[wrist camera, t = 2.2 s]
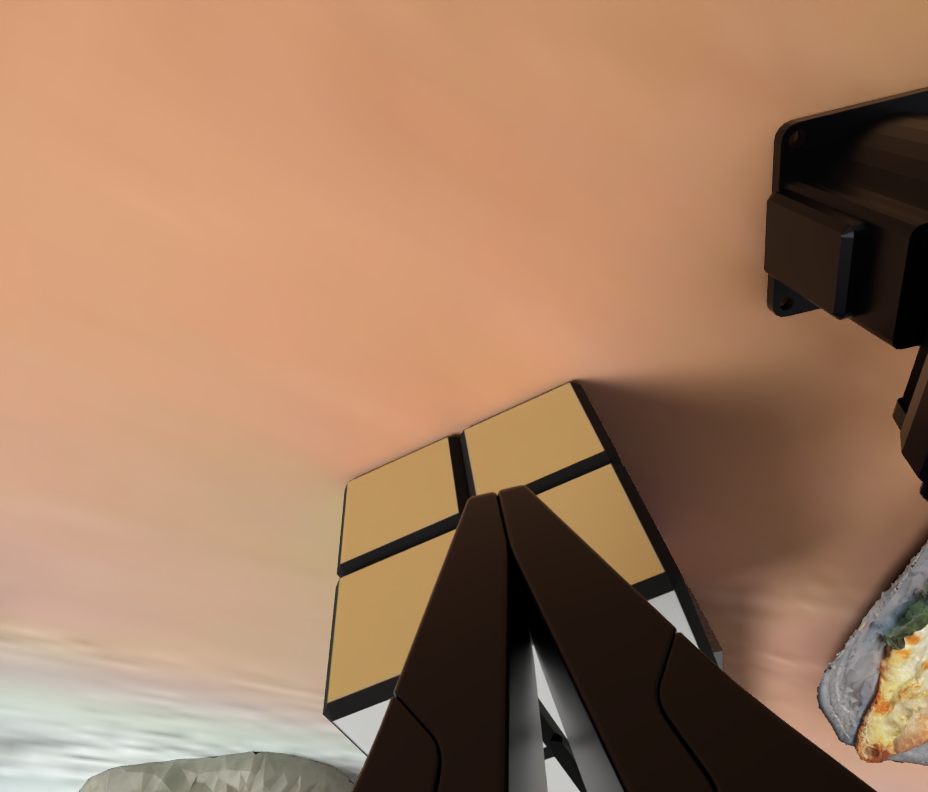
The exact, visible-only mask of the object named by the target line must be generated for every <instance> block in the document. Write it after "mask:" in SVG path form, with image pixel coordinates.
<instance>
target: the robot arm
mask: <svg viewBox="0 0 928 792" xmlns="http://www.w3.org/2000/svg"><path fill="white" fill-rule="evenodd" d="M796 131H798V138H797V141H796V142H795V143H794V144H793V145H791V146H790V145H789V139H790V136H791V135H792V134H793V133H794V132H796ZM764 270H765V271H766V272H767V273H768V289H767V306H768V308H769V309H770V311H772V312H773V313H774V314H776V315H777V316H780V317H786V316H790V315H795V314H799V313H803V312H807V311H812V310H816V309H820V308H821V309H823V310H824V311H826V312H827V313H829V314H830V315H832V316H833V317H835V318H836V319H839V320H843V319H847V318H849V319H850V320H852V321H853V322H855V323H857V324H858V325H860V326H861V327H863V328H864V329H866V330H867V331H869V332H871V333H872V334H874V335H875V336H877V337H878V338H880V339H882V340H883V341H885V342H886V343H888V344H889V345H891V346H893V347H894V348H896V349H905V348H909V347H913V346H920V348H919V351H918V354H917V357H916V360H915V363H914V366H913V369H912V372H911V375H910V378H909V381H908V384H907V387H906V390H905V392H904V395H903V397H902V398H899V399H898V400H897V403H896V406H895V409H894V412H893V418H894V420H895V422H896V424H897V425H898V427H899V429H900V438H901V453H902V454H903V456H904V457H905V459H906V460H907V462H908V463H909V465H910V466H911V468H912V469H913V471H914V472H915V473H916V475H917V476H918V478H919V479H920V480H921V481H922V485H921V487H920V494H921V495H922V497H923V498H924V499H925V500H926V501H927V502H928V87H926V88H922V89H918V90H914V91H910V92H906V93H901V94H897V95H893V96H889V97H885V98H881V99H877V100H873V101H869V102H864V103H860V104H856V105H852V106H848V107H844V108H840V109H836V110H832V111H828V112H823V113H819V114H815V115H811V116H807V117H803V118H799V119H795V120H791V121H789V122H786V123H784V124H783V125H782V126H781V127H780V128H779V130H778V131H777V133H776V135H775V140H774V156H773V178H772V194H771V195H770V197H769V199H768V200H767V213H766V237H765V261H764ZM786 297H788V299H787V302H786V303H785V304H784V305H782V306H780V302H781V301H782V300H783V299H784V298H786ZM529 630H530V631H529ZM530 634H531V636H530ZM531 638H532V642H533V645H534V648H535V651H536V654H537V657H538V660H539V662H540V665H541V668H542V671H543V673H544V676H545V679H546V682H547V684H548V687H549V690H550V692H551V695H552V698H553V701H554V703H555V706H556V709H557V711H558V714H559V717H560V720H561V722H562V725H563V728H564V731H565V733H566V736H567V739H568V741H569V744H570V747H571V750H572V752H573V755H574V758H575V760H576V763H577V766H578V769H579V771H580V774H581V777H582V780H583V782H584V785H585V788H586V790H587V792H877V791H876V790H874V789H873V788H872V787H870V786H869V785H868V784H866V783H865V782H864V781H862V780H861V779H860V778H858V777H857V776H856V775H855V774H853V773H852V772H851V771H849V770H848V769H847V768H845V767H844V766H843V765H841V764H840V763H839V762H837V761H836V760H835V759H833V758H832V757H831V756H830V755H828V754H827V753H826V752H824V751H823V750H822V749H820V748H819V747H818V746H816V745H815V744H814V743H812V742H811V741H810V740H808V739H807V738H806V737H805V736H803V735H802V734H801V733H799V732H798V731H797V730H795V729H794V728H793V727H791V726H790V725H789V724H787V723H786V722H785V721H783V720H782V719H781V718H780V717H778V716H777V715H776V714H775V713H773V712H772V711H771V710H770V709H768V708H767V707H766V706H765V705H763V704H762V703H761V702H759V701H758V700H757V699H756V698H754V697H753V696H752V695H751V694H749V693H748V692H747V691H746V690H744V689H743V688H742V687H741V686H739V685H738V684H737V683H736V682H735V681H734V680H733V679H731V678H730V677H729V676H728V675H727V674H726V673H725V672H724V671H722V670H721V669H720V668H719V667H718V666H717V665H716V664H715V663H713V662H712V661H711V660H710V659H709V658H708V657H707V656H706V655H704V654H703V653H702V652H701V651H700V650H699V649H698V648H697V647H696V646H695V645H694V644H693V643H692V642H691V641H690V640H689V639H688V638H687V637H685V636H684V635H683V634H682V633H681V632H678V633H677V629H676V627H675V626H673V625H672V624H671V623H670V622H669V621H668V620H667V619H666V618H665V617H664V616H663V615H662V614H661V613H660V612H659V611H658V610H657V609H656V608H654V607H653V606H652V605H651V604H650V603H649V602H648V601H647V600H646V599H645V598H644V597H643V596H642V595H641V594H640V593H639V592H638V591H637V590H635V589H634V588H633V587H632V586H631V585H630V584H629V583H628V582H627V581H626V580H625V579H624V578H623V577H622V576H621V575H620V574H619V573H618V572H617V571H615V570H614V569H613V568H612V567H611V566H610V565H609V564H608V563H607V562H606V561H605V560H604V559H603V558H602V557H601V556H600V555H599V554H598V553H596V552H595V551H594V550H593V549H592V548H591V547H590V546H589V545H588V544H587V543H586V542H585V541H584V540H583V539H582V538H581V537H580V536H579V535H577V534H576V533H575V532H574V531H573V530H572V529H571V528H570V527H569V526H568V525H567V524H566V523H565V522H564V521H563V520H562V519H561V518H560V517H558V516H557V515H556V514H555V513H554V512H553V511H552V510H551V509H550V508H549V507H548V506H547V505H546V504H545V503H544V502H543V501H542V500H541V499H539V498H538V497H537V496H536V495H535V494H534V493H533V492H532V491H531V490H530V489H529V488H528V487H526V486H525V485H519V486H514V487H510V488H506V489H502V490H500V491H499V492H498V496H497V494H496V493H495V492H489V493H484V494H480V495H476V496H472V497H470V498H469V499H468V500H467V503H466V505H465V508H464V510H463V513H462V515H461V518H460V521H459V523H458V526H457V528H456V531H455V534H454V536H453V539H452V541H451V544H450V547H449V549H448V552H447V554H446V557H445V560H444V562H443V565H442V567H441V570H440V573H439V575H438V578H437V580H436V583H435V586H434V588H433V591H432V593H431V596H430V599H429V601H428V604H427V606H426V609H425V612H424V614H423V617H422V619H421V622H420V624H419V627H418V630H417V632H416V635H415V637H414V640H413V643H412V645H411V648H410V650H409V653H408V656H407V658H406V661H405V663H404V666H403V669H402V671H401V674H400V676H399V679H398V682H397V684H396V687H395V689H394V696H395V697H392V698H391V699H390V702H389V704H388V707H387V709H386V712H385V715H384V717H383V720H382V723H381V725H380V728H379V730H378V732H377V735H376V737H375V740H374V742H373V744H372V747H371V749H370V751H369V754H368V756H367V759H366V761H365V763H364V766H363V768H362V770H361V772H360V774H359V776H358V779H357V781H356V783H355V785H354V787H353V789H352V791H351V792H548V788H547V778H546V769H545V759H544V750H543V740H542V731H541V721H540V712H539V702H538V692H537V683H536V673H535V664H534V656H533V648H532V642H531Z"/></svg>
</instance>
